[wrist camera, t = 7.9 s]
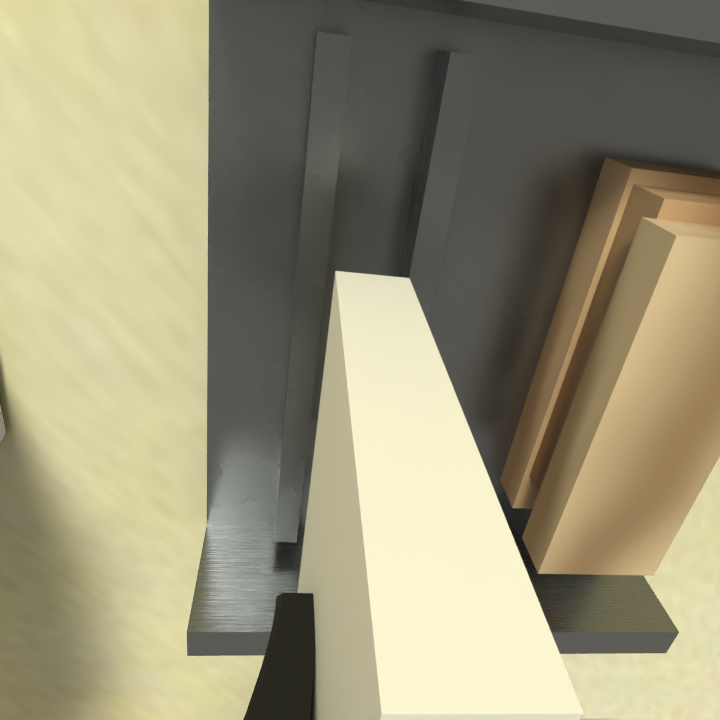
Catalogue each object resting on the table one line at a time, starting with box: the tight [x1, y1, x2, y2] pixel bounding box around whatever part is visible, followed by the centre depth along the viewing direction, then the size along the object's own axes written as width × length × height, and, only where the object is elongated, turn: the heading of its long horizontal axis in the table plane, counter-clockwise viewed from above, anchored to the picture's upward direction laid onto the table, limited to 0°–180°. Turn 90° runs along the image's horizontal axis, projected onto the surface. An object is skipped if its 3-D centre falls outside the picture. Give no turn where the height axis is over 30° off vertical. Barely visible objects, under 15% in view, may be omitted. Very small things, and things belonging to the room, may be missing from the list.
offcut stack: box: [500, 157, 720, 576], centre depth 18 cm, size 4×12×4 cm, turn 173°
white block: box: [297, 271, 584, 720], centre depth 11 cm, size 2×12×8 cm, turn 173°
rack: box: [187, 0, 720, 656], centre depth 17 cm, size 17×20×6 cm
